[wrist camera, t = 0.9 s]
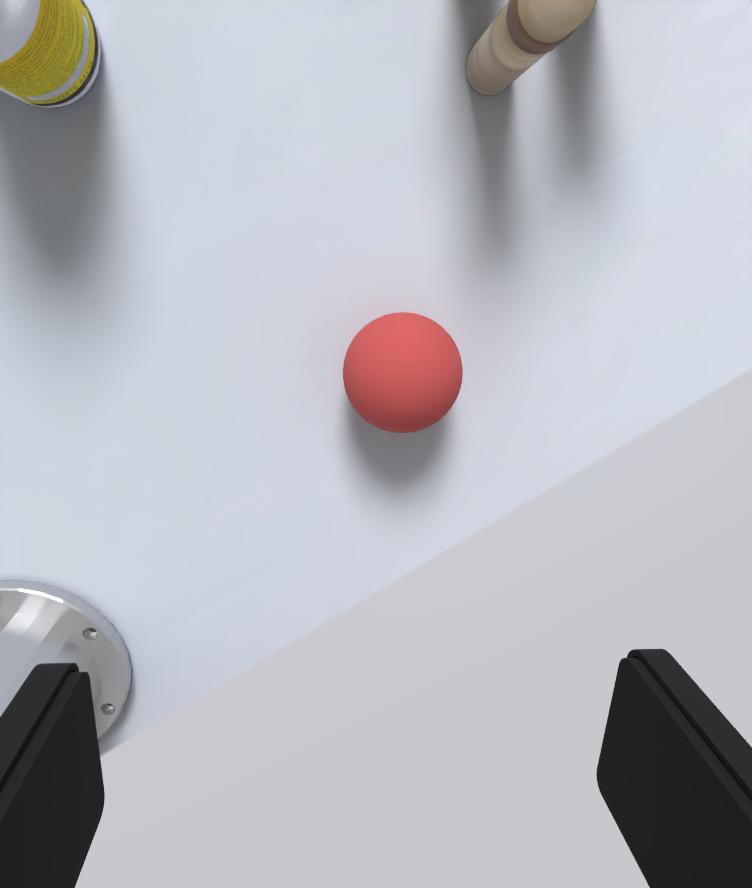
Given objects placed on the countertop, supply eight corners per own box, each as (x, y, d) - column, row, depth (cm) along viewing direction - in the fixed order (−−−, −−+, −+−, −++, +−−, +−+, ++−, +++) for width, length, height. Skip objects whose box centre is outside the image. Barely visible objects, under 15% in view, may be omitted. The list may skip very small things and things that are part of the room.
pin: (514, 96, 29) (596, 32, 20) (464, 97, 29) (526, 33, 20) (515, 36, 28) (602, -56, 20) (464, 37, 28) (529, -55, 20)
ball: (448, 411, 34) (475, 443, 28) (344, 418, 33) (349, 453, 28) (447, 304, 32) (476, 316, 26) (337, 310, 31) (341, 323, 26)
